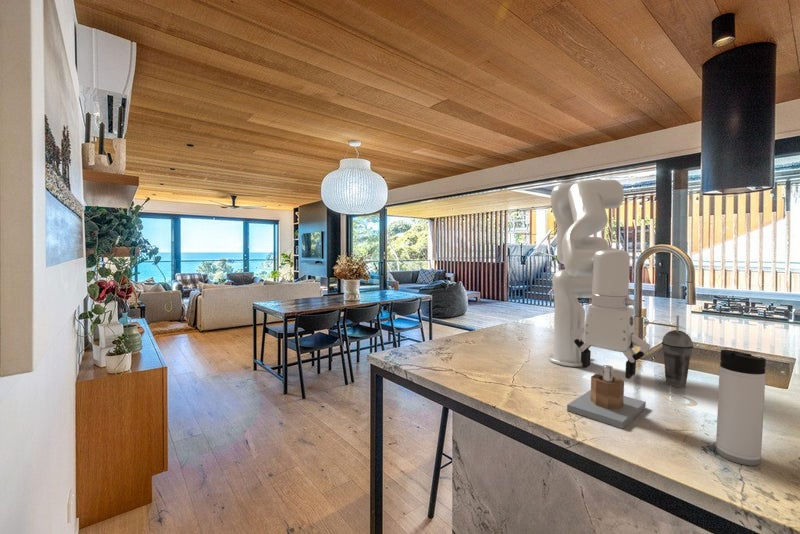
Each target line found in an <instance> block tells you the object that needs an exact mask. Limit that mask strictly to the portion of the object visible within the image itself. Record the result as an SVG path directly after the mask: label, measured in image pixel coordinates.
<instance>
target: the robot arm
mask: <svg viewBox="0 0 800 534" xmlns="http://www.w3.org/2000/svg"><path fill="white" fill-rule="evenodd" d="M624 197H625V192H624V187H623V185H622V184H621V182H619V181H618V180H616V179H590V180H589V179H588V180H581V181H578V182H567V183H562V184H558V185H556V186H554V187H553V188H552V190H551V194H550V207H551V211H552V213H553V216H554V219H555V223H556V255H557V260H558V262H559V263H560V264H562V265H564V269H559V270H558V271H556V272H554V274H553V276H552V282H551V283H552V290H553V302H554V314H553V315H554V316H553V317H554V319H553V320H554V321H553V322H554V323H553V328H554V330H553V334H554V335H553V353H551V354H549V355H548V360H549V361H550V362H552V363H554V364H557V365H559V366H564V367H574V368H578V367H581V368H582V369H586V368H588V367H589V366H591V350H590V348H591V347H594V348H598V349H603V350H606V351H607V350H608V351H612V352H617V353H622V354H623V355H624V357H625V358H626V359H627V361H626V362H625V375H624V376H625V379H628V380H629V379H631V378H632V377H633V376H635V375H636V371H637V369H636V368H637V360H640V359H641V358H643V357H645V355H646V354H647V353H648V351H649V350H650V348H651V347H652V345H651V344H650V343H648V342H647V341H645V340H643V339H642V338H640V337H638V336H637V335H636V334H635V320H634V313H633V309H632V308H629V306H635V304H636V299H633V298H630V295H629V285H630V268H631V267H630V264H631V262H630V261H631V260H630V258H631V257H630V253H629V252H628V251H626V250H621V249H619V248H612V247H611V248H610V245H609V242H608V241H607V240H606V238H602V237H599V236H592V235H594V234H598V233H600V232H601V231H602V230H604V229H605V228H606V226H607V224H608V221H609V217H608V215H607V211H606V209H607V210H615V209H618V208H620V206H621V205H622V204H623V202H624V199H625V198H624ZM582 298H583V299H584V298H585V299H586V298H587V299H591V304H590V305H588V309H587V312H586V310H585V308H584V306H583V305H582V304H581V303H580V301H578V299H582ZM586 313H587V314H586ZM635 344H636V346H639V347H640V349H639V350H638V351H637V352H636V351H634V348H635Z"/></svg>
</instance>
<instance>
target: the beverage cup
mask: <svg viewBox="0 0 800 534" xmlns="http://www.w3.org/2000/svg"><path fill="white" fill-rule="evenodd" d="M679 321H680V316H679V315H676V325H675V327H676V329H675V330H674V329H673V330H669V331H668V332H666V333H665V334H664V336H663V338H662V341H661V345H662V347H661V348H662V350H663V361H664V362H663V363H664V377H665V378H664V379H665V384H666V383H667V384H668V385H667V384H666V385H667V386H669V385H671V386H670V387H673V386H675V387H674V388H678V387H679V388H681V389H682V388H683V387H684V388H686V385H687V382H688V381H687V380H688V375H689V367H690V361H691V355H692V353H693V348H694V345H693V340H692V338H691V336H690V335H689V334H688V333H686V332H685V331H682V330H679V329H680V327H679V325H680V323H679ZM684 388H683V389H684Z"/></svg>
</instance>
